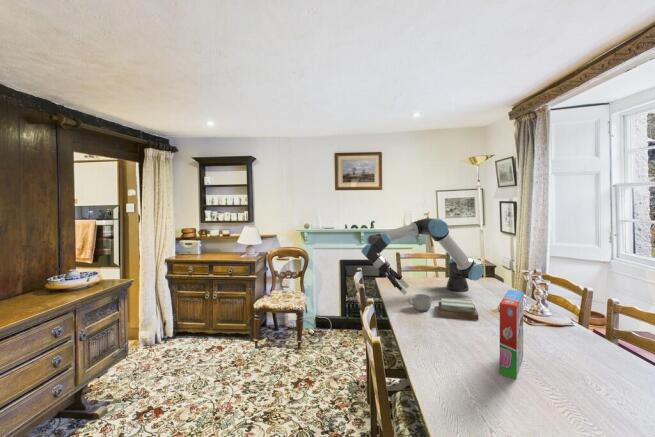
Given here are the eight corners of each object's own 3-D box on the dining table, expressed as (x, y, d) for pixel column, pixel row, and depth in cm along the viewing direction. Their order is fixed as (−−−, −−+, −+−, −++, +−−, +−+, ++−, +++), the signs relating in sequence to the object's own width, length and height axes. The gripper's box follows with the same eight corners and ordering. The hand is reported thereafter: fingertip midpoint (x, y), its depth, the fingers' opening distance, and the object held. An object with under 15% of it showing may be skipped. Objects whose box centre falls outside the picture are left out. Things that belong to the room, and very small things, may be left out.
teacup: (429, 306, 184) (428, 293, 184) (433, 312, 173) (433, 299, 173) (406, 306, 185) (406, 293, 185) (409, 312, 175) (409, 299, 174)
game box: (508, 352, 126) (508, 289, 125) (523, 356, 122) (523, 291, 121) (499, 374, 110) (499, 302, 109) (516, 379, 106) (516, 305, 105)
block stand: (438, 306, 184) (438, 296, 184) (474, 309, 177) (474, 299, 177) (439, 316, 167) (439, 306, 167) (478, 320, 160) (478, 309, 160)
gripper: (380, 264, 198) (404, 288, 193) (373, 273, 174) (400, 300, 170) (388, 257, 196) (412, 281, 191) (382, 264, 172) (409, 292, 168)
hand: (406, 290), depth 181 cm, fingers open, 13 cm apart
